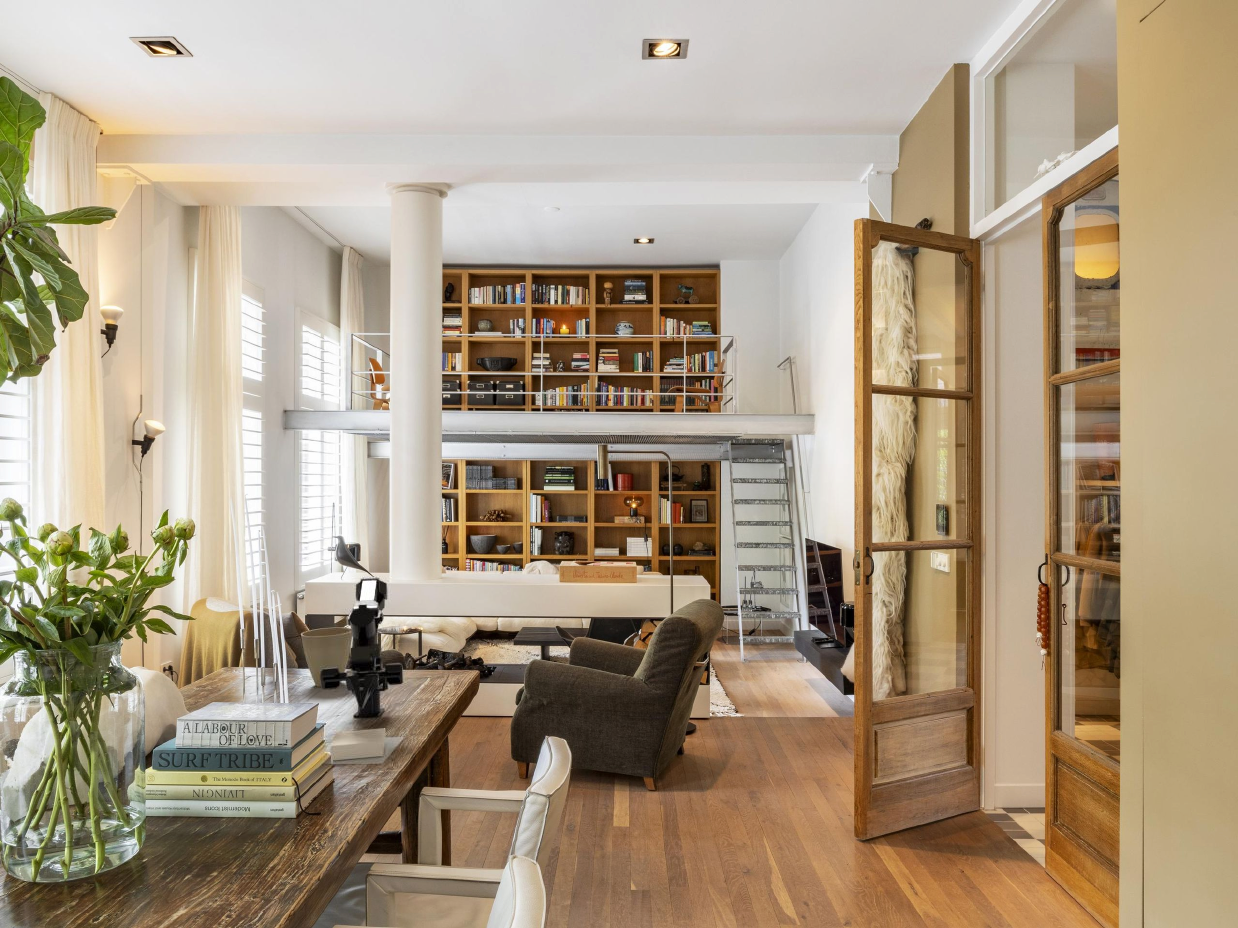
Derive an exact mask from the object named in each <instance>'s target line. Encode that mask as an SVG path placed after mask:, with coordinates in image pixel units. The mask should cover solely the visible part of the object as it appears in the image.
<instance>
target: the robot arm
mask: <svg viewBox="0 0 1238 928" xmlns="http://www.w3.org/2000/svg"><path fill="white" fill-rule="evenodd" d="M355 599H356V600H355V601H356V602H355V603H354V604H353V606H352V611H349V615H348V618H347V624H348V626H349V627H350V628H351V634H352V642H351V648H350V653H349V663H348V665H349V667H348V668H349V669H348V670H345V672H343V673H339V667H329V668H323V669H322V670H321V674H320V679H321V684H322V687H321V689H322V690H337V689H338V688H339V687H341V683H340V681H341V682H345V686H346V690H347V691H349V692H350V691H351V694H353V696H354V697H355V701H356V704H357V711H355V713H354V714H353V715H352V716H353V718H371V717H372V718H376V717H379V716H380V715H381V714H382V713H383V712H384V711H385V710H386V709H385V708H384V707H381V692H385V691H387V690H388V689H389V686H395V685H402V684H403V683H404V669H403V667H404V666H403V664H402V663H400V662H396V663H395V662H394V663H392V662H391V663H386V664H385V667H383V659H382V658H381V643H379V625H382V623H383V621H384V613H383V611H384V609H385V606H386V605H385V604H386V601H388V584H387V582H385V581H383V580H381V579H380V577H377V576H374V577H373V576H371V577H367V576H366V577H363V578H360V581H359V582H358V583H356V584H355Z"/></svg>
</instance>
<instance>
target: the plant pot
mask: <svg viewBox="0 0 1238 928" xmlns="http://www.w3.org/2000/svg"><path fill="white" fill-rule="evenodd" d="M300 636H301V643H302V647H303V653H304V656H305V660H306V663H307V667H308V671H309V672H310V675H311V678H312V680H313V683H314V685H315V687H319V688H322V684H321V679H320V674H321V670H322V669H323V668H329V667H339V673H343V672H346V669H347V665H348V661H349V659H350V648H352V641H353V636H352V634H351V627H350V628H349V627H325V628H316V629H311V630H307V631H303V632H301V634H300ZM340 684H342V681H340Z"/></svg>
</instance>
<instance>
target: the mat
mask: <svg viewBox="0 0 1238 928" xmlns="http://www.w3.org/2000/svg"><path fill="white" fill-rule="evenodd" d="M404 739H405V737H404V736H401V737H399V736H395V737H387V736H385V748H384V754H383V756H381V757H373V758H362V759H350V760H339V761H333V764H332V765H364V764H365V765H366V764H368V765H369V764H371V765H372V764H373V765H374V764H375V765H376V764H378V765H379V764H383V763H384V762H385V761H386V760H387V759H388V758H389V757H390V755H391V754H392V753H393V751H394V750H395V749H396V748H397V747H398V745H400V743H401V742H402V741H403V740H404ZM326 748H327V750H328V751H329V752H330V753H331V744H330V745H328V746H327V747H326Z"/></svg>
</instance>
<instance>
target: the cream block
mask: <svg viewBox="0 0 1238 928" xmlns="http://www.w3.org/2000/svg"><path fill="white" fill-rule="evenodd" d="M385 737H386V728H385V727H383V728H373V729H372V728H370V729H361V730H347V731H337V732H335V733H334V735H333V738H332V741H331V757H332V760H333V761H339V760H350V759H362V758H373V757H381V756H383V754H384V748H385Z"/></svg>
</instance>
